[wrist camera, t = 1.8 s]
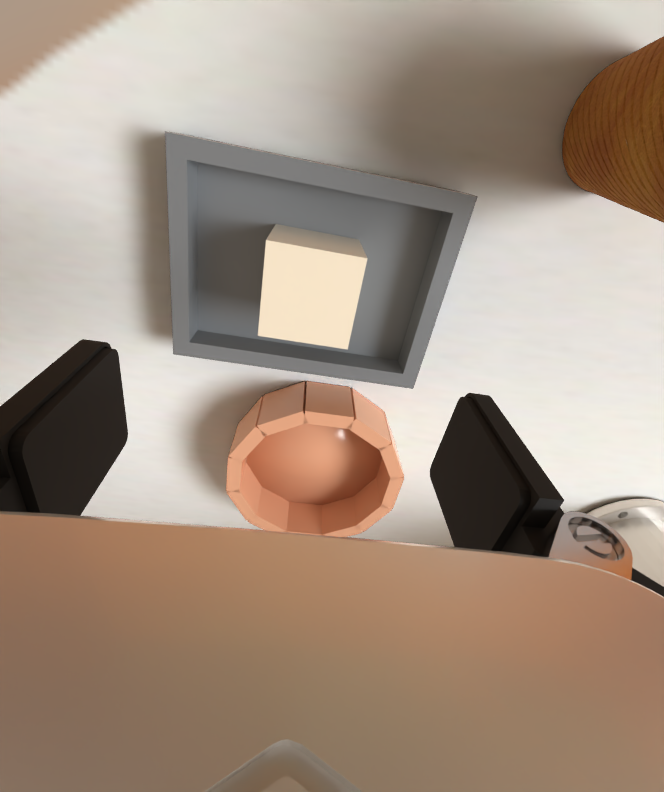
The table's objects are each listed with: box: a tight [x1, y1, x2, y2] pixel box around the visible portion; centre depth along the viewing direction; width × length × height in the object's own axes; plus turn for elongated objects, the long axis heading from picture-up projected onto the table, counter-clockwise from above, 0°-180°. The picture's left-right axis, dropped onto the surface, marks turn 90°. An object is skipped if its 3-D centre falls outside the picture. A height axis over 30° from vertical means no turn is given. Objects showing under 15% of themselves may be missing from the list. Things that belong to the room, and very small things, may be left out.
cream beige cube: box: [258, 224, 368, 350], centre depth 22 cm, size 5×5×5 cm
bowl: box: [226, 381, 404, 537], centre depth 31 cm, size 13×13×4 cm
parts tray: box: [165, 132, 477, 389], centre depth 24 cm, size 16×12×2 cm
